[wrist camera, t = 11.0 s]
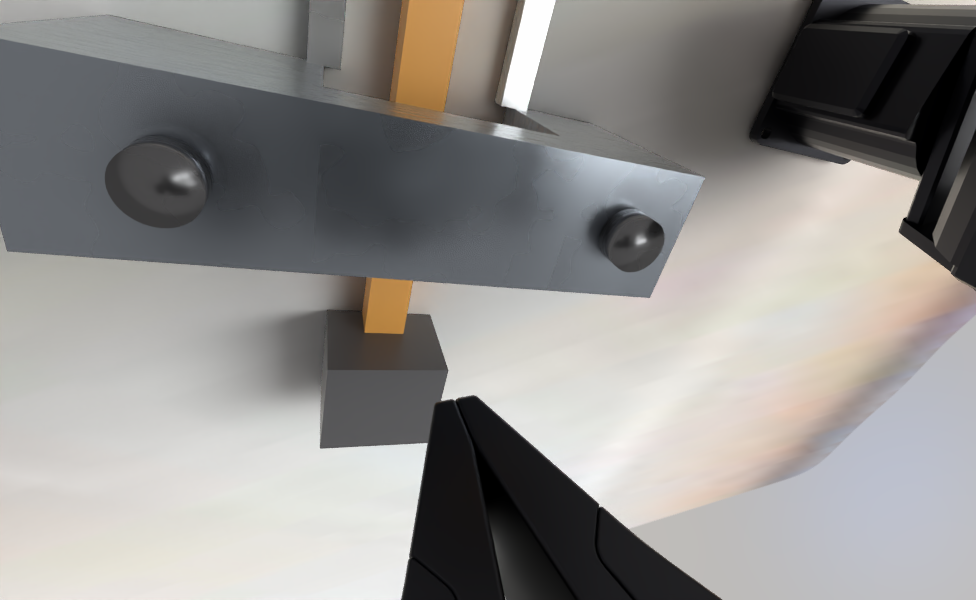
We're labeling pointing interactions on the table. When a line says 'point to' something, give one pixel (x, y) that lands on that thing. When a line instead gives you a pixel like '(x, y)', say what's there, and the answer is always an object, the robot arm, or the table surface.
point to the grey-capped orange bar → (392, 284)
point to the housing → (315, 165)
